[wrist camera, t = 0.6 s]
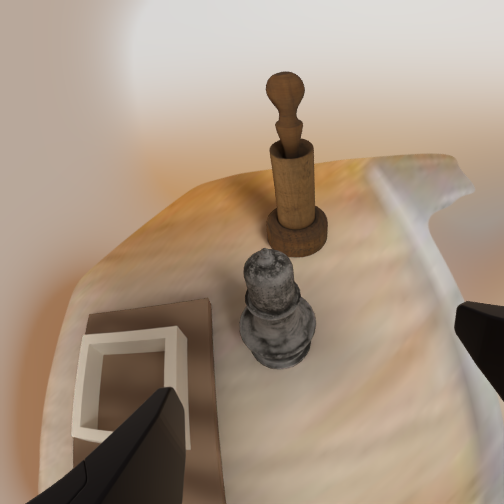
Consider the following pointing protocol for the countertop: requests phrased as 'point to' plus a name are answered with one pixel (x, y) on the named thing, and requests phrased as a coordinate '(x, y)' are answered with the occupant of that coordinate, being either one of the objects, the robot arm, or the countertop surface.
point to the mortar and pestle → (293, 176)
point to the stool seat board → (152, 383)
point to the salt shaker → (275, 312)
